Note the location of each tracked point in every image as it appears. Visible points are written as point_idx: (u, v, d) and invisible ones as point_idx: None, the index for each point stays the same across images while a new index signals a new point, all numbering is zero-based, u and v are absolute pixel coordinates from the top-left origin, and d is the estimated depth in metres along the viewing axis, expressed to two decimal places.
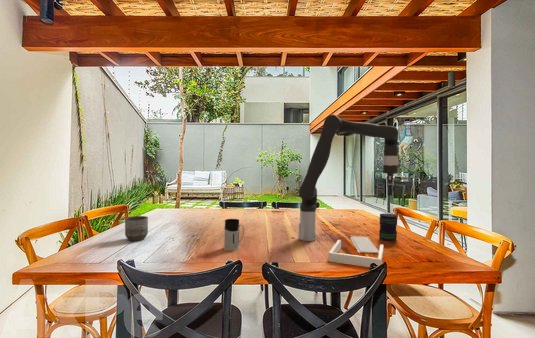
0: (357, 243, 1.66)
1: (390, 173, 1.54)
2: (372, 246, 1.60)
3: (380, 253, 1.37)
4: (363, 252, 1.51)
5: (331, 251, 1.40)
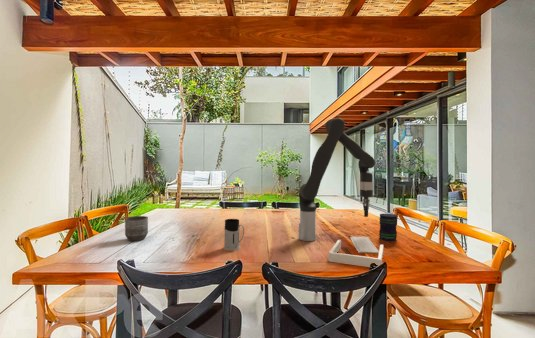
0: (357, 243, 1.66)
1: (365, 197, 1.81)
2: (372, 246, 1.60)
3: (380, 253, 1.37)
4: (363, 252, 1.51)
5: (331, 251, 1.40)
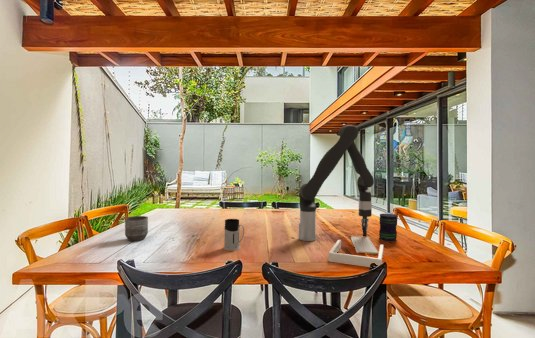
0: (357, 243, 1.65)
1: (364, 216, 1.77)
2: (372, 246, 1.59)
3: (380, 253, 1.37)
4: (362, 252, 1.50)
5: (331, 251, 1.40)
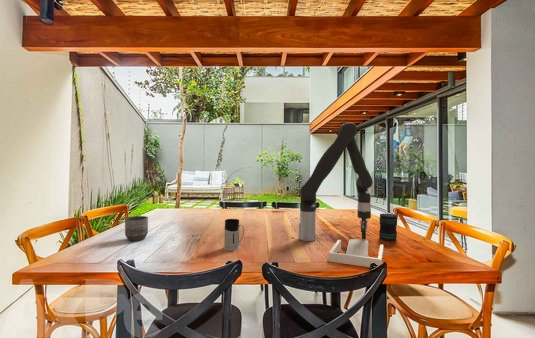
0: (351, 246, 1.60)
1: (363, 218, 1.70)
2: (365, 250, 1.53)
3: (380, 253, 1.37)
4: None
5: (331, 251, 1.40)
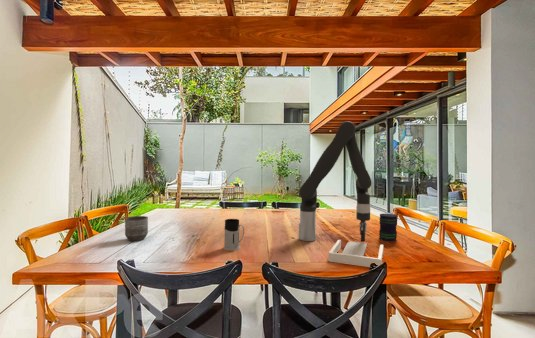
0: (347, 248, 1.55)
1: (362, 220, 1.65)
2: (361, 253, 1.48)
3: (380, 253, 1.37)
4: None
5: (331, 251, 1.40)
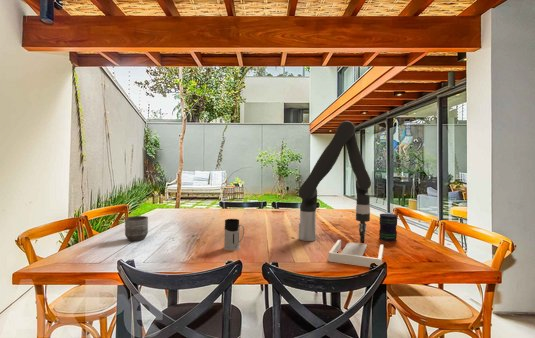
0: (346, 249, 1.53)
1: (362, 221, 1.63)
2: (359, 254, 1.46)
3: (380, 253, 1.37)
4: None
5: (331, 251, 1.40)
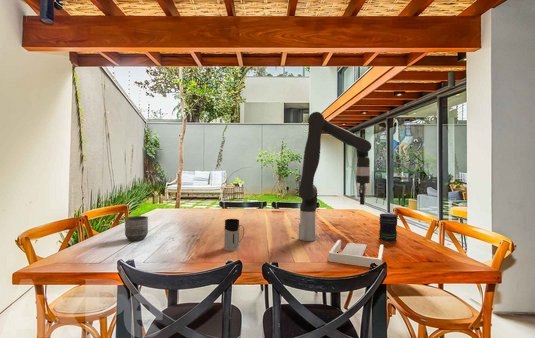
0: (346, 250, 1.53)
1: (362, 183, 1.68)
2: (359, 254, 1.46)
3: (380, 253, 1.37)
4: None
5: (331, 251, 1.40)
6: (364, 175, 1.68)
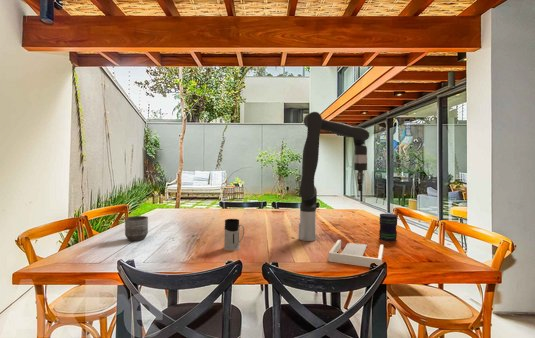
0: (346, 250, 1.53)
1: (360, 170, 1.75)
2: (359, 254, 1.45)
3: (380, 253, 1.37)
4: None
5: (331, 251, 1.40)
6: (362, 162, 1.75)
